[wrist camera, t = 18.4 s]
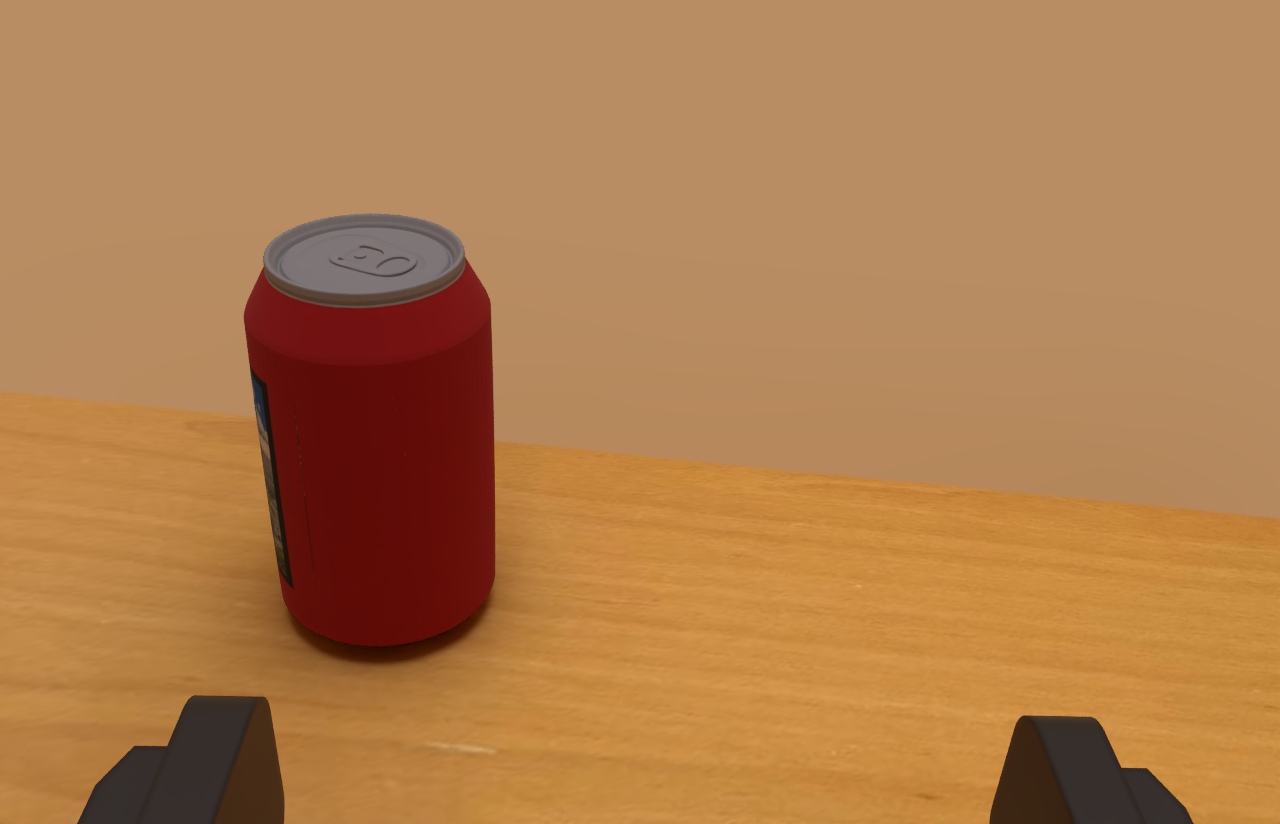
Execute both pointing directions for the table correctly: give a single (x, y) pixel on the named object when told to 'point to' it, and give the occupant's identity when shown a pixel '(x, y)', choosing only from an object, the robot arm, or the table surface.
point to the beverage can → (375, 426)
